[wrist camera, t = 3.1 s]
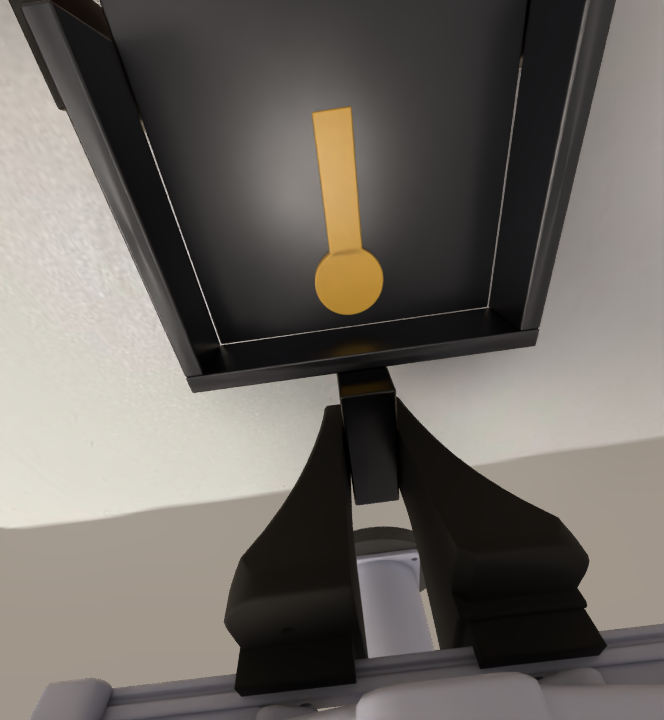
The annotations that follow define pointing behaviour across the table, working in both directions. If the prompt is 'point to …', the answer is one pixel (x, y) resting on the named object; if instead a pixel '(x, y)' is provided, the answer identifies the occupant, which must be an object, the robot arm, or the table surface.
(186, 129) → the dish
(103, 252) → the table surface
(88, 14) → the bracket
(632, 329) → the table surface
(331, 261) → the spoon
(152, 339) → the table surface
